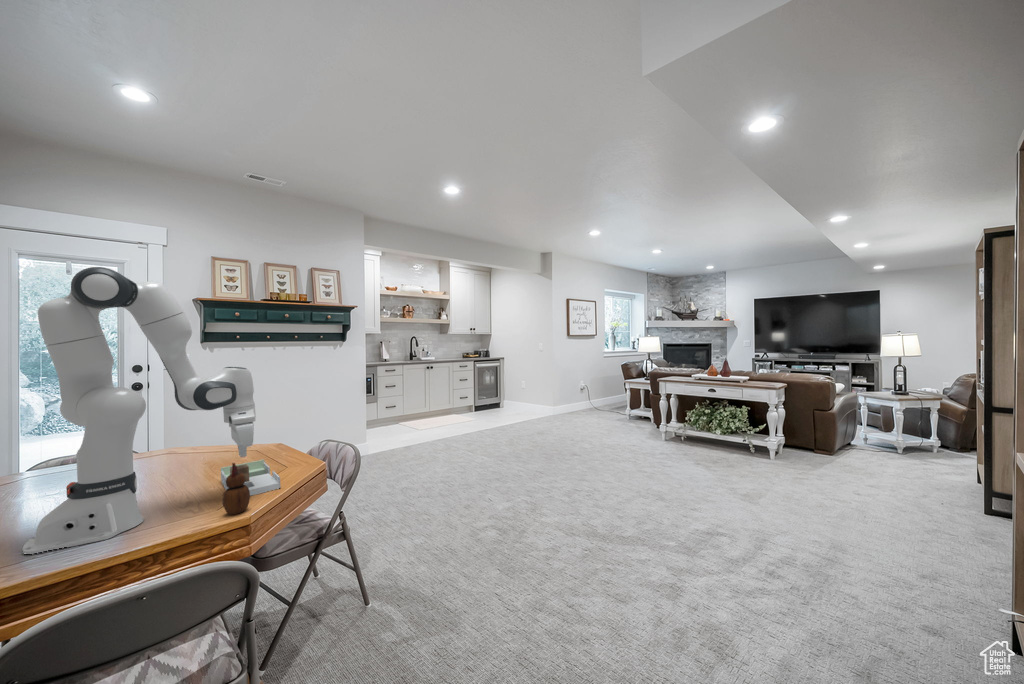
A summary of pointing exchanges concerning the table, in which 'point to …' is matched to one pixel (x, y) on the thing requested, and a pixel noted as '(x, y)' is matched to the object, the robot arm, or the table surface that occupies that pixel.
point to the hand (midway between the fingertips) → (242, 456)
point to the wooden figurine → (236, 493)
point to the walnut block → (242, 471)
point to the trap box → (256, 477)
